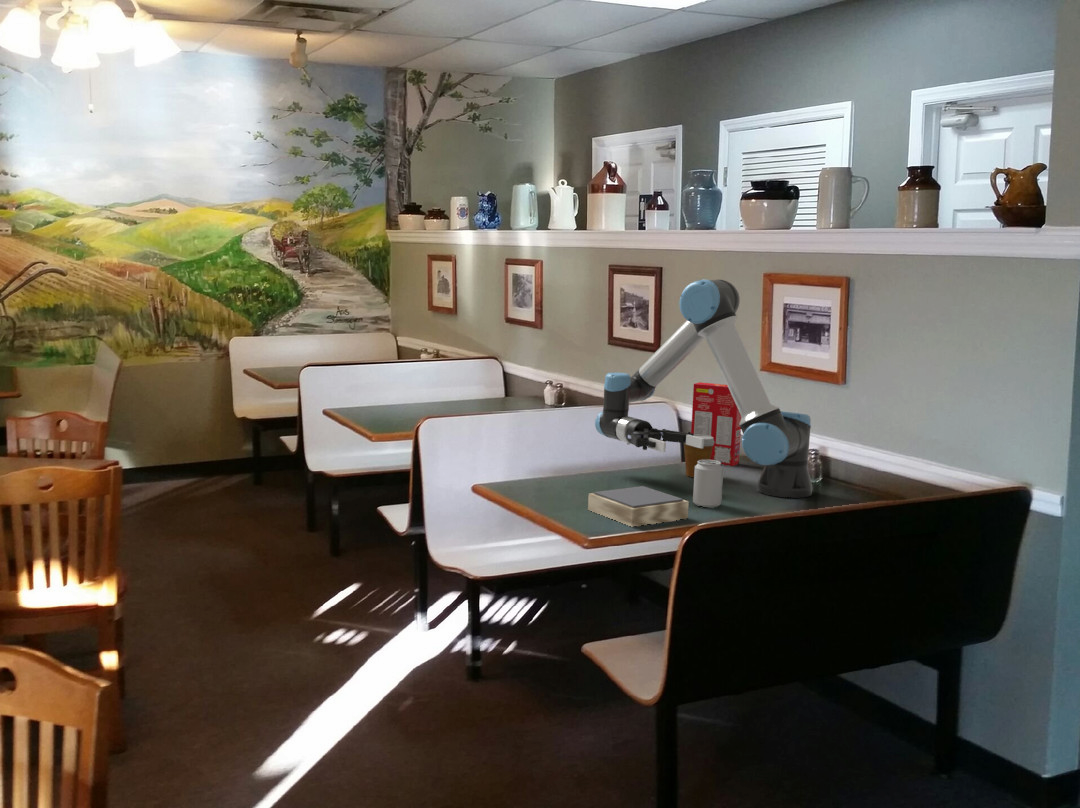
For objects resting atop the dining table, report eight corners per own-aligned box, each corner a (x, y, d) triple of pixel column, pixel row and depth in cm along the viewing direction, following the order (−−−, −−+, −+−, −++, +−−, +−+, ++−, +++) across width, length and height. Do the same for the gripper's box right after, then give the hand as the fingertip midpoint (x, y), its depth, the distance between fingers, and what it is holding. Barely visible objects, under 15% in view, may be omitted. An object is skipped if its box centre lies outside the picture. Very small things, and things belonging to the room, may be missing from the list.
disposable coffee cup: (713, 474, 319) (715, 435, 317) (711, 480, 310) (713, 440, 308) (682, 471, 321) (684, 433, 319) (679, 478, 312) (681, 438, 310)
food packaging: (738, 463, 336) (743, 386, 333) (733, 466, 332) (738, 388, 328) (695, 457, 343) (699, 382, 339) (689, 460, 339) (693, 383, 335)
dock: (642, 503, 279) (643, 484, 278) (687, 518, 264) (688, 499, 263) (587, 510, 269) (588, 491, 268) (631, 527, 254) (632, 507, 253)
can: (721, 509, 275) (723, 464, 273) (692, 507, 276) (694, 463, 274) (721, 503, 282) (723, 459, 280) (693, 501, 283) (695, 457, 281)
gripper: (667, 441, 310) (716, 455, 292) (599, 447, 296) (647, 462, 279) (669, 416, 309) (718, 429, 291) (601, 421, 295) (649, 434, 278)
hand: (684, 445), depth 285 cm, fingers open, 13 cm apart
